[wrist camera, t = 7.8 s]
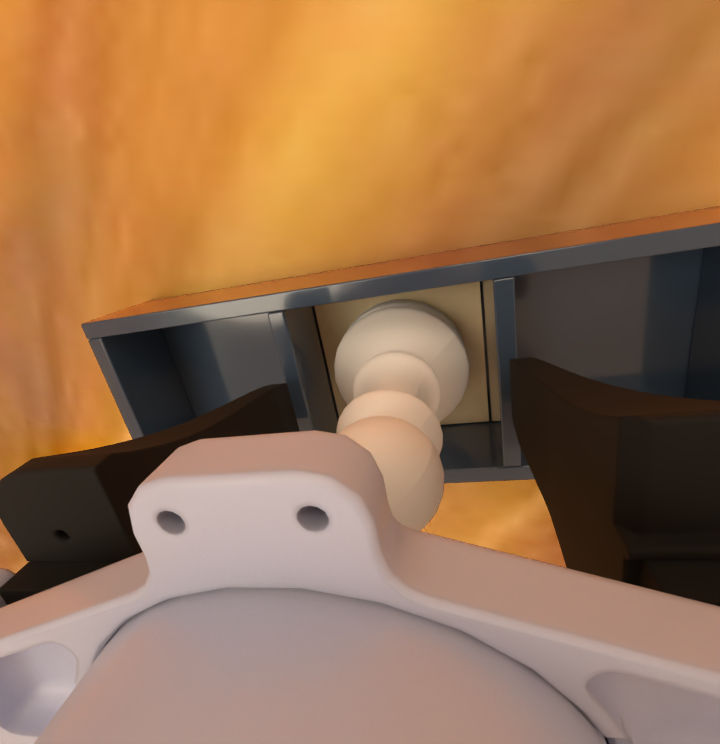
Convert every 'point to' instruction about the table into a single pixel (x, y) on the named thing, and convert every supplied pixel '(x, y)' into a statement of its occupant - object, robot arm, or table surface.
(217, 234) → the table surface
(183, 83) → the table surface
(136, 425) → the divided storage box
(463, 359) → the chess pawn
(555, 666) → the robot arm
